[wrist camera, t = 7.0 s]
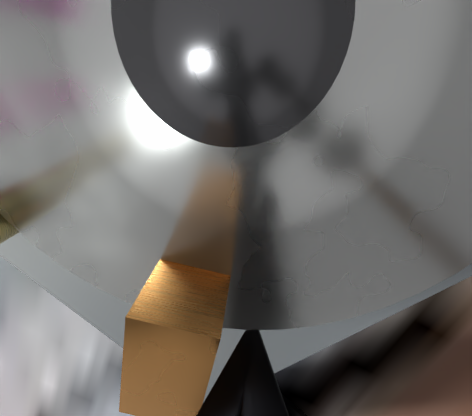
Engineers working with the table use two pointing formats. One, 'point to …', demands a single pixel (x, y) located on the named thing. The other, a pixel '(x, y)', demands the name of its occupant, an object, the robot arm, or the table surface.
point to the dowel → (6, 230)
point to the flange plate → (237, 163)
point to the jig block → (276, 341)
